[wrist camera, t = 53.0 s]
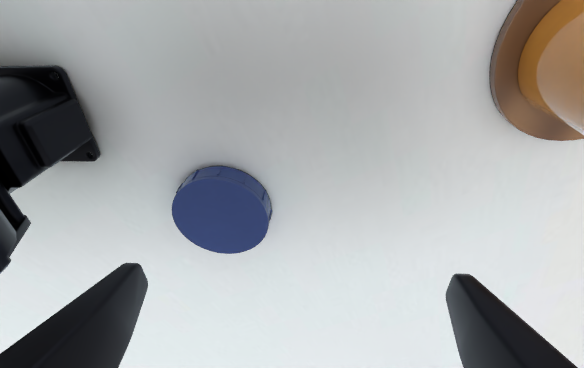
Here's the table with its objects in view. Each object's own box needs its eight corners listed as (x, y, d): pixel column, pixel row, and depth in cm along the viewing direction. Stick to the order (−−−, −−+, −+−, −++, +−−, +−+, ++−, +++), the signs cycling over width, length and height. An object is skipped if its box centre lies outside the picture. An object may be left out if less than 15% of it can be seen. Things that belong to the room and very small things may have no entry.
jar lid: (162, 200, 24) (152, 214, 23) (221, 147, 21) (214, 159, 20) (229, 250, 27) (224, 266, 26) (290, 210, 24) (288, 225, 23)
